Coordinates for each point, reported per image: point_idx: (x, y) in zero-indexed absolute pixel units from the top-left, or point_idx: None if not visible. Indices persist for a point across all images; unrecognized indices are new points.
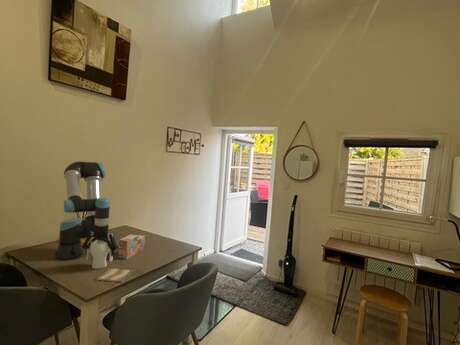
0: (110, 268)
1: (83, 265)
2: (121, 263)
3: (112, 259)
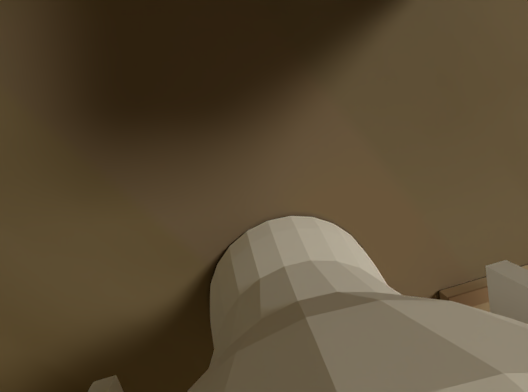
0: (474, 306)
1: (116, 368)
2: (489, 106)
3: (519, 273)
